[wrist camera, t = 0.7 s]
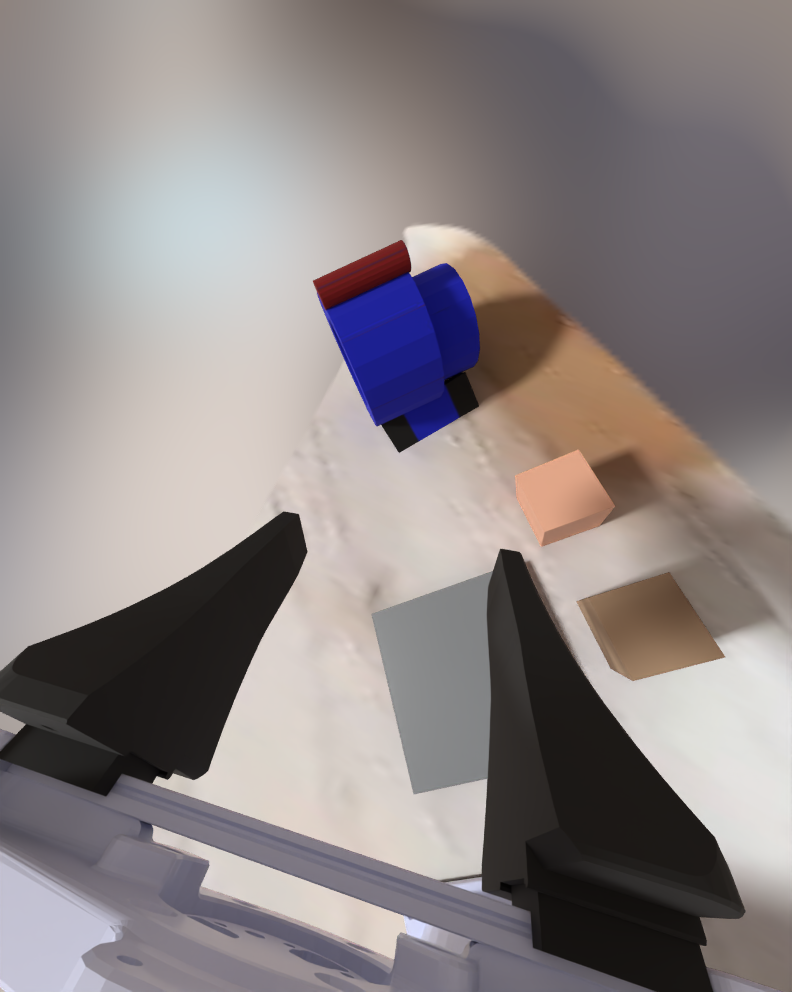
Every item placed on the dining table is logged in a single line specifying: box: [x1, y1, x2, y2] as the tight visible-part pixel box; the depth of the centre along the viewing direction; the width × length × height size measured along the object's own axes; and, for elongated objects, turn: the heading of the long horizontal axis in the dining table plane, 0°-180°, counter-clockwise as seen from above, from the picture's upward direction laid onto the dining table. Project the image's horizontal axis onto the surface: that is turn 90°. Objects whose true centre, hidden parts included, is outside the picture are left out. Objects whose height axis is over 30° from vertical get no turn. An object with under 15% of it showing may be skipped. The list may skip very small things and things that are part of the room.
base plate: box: [372, 571, 493, 794], centre depth 24 cm, size 12×12×2 cm
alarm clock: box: [313, 240, 480, 453], centre depth 29 cm, size 12×12×15 cm
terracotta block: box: [515, 450, 615, 547], centre depth 24 cm, size 4×4×5 cm
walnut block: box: [576, 572, 725, 681], centre depth 20 cm, size 4×4×5 cm
